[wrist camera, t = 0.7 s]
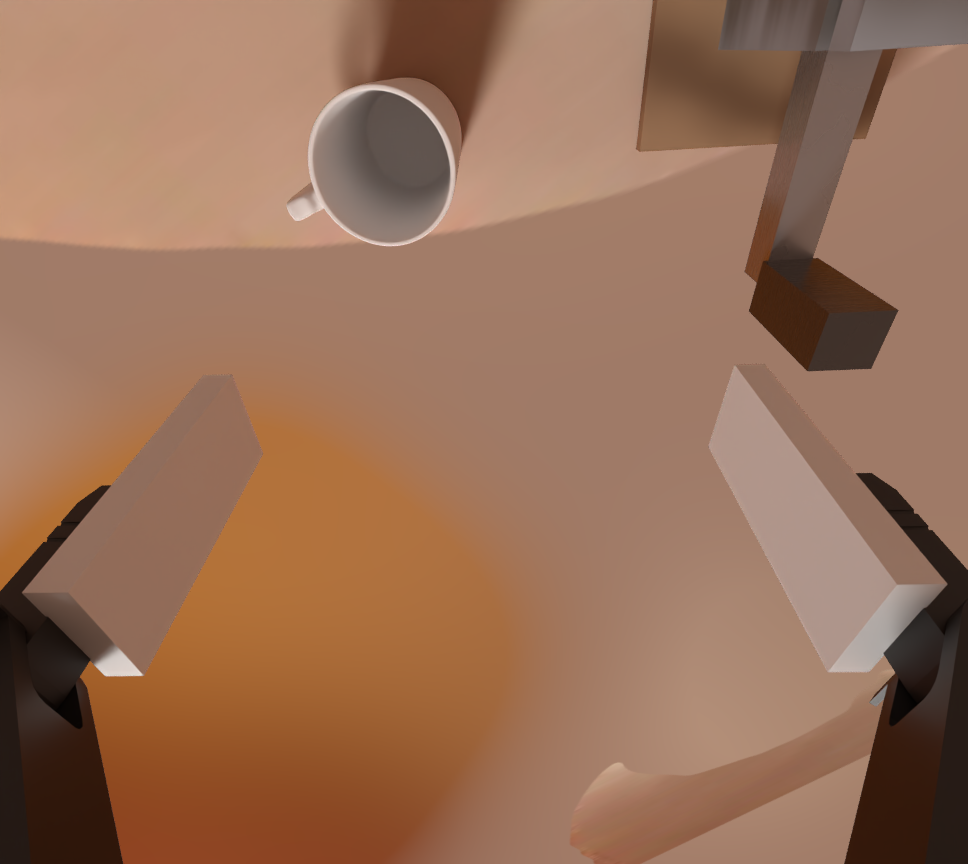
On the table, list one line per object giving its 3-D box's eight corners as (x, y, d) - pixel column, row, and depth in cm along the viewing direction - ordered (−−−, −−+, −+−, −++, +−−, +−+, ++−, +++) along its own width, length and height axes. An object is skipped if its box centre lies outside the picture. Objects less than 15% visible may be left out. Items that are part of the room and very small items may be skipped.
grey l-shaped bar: (921, -447, 17) (1271, -848, 9) (1016, -457, 17) (1450, -873, 9) (733, 295, 32) (807, 371, 25) (782, 293, 32) (870, 368, 24)
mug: (439, 51, 30) (416, 53, 21) (482, 167, 34) (478, 214, 24) (297, 124, 33) (217, 156, 23) (351, 225, 36) (302, 289, 27)
